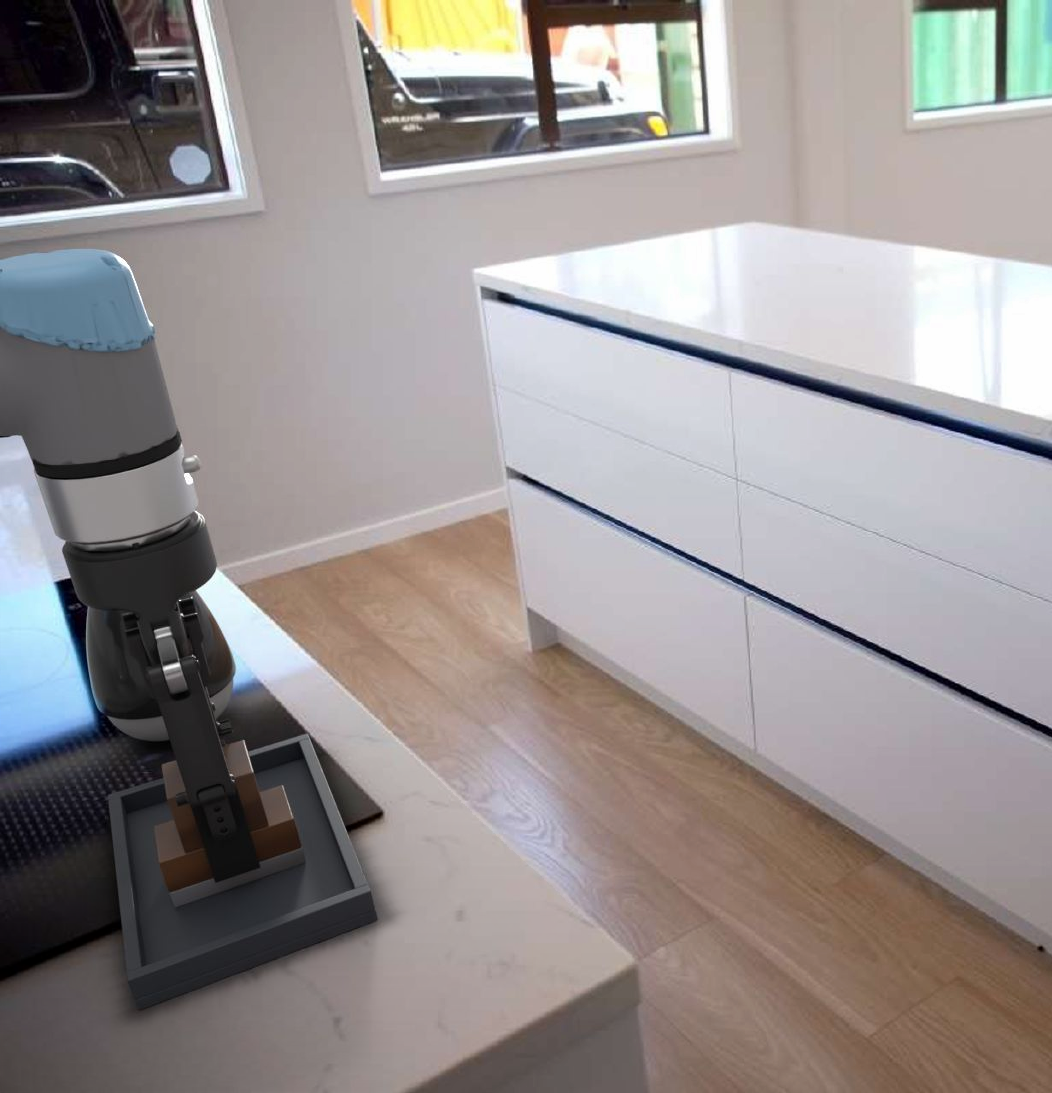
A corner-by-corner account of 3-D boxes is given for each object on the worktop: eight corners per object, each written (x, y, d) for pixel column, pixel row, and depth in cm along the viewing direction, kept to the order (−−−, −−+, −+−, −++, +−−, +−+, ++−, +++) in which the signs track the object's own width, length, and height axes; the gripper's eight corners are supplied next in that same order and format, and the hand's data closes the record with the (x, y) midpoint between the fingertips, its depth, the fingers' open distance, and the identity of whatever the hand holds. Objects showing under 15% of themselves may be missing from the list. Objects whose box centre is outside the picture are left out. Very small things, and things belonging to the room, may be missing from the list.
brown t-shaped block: (306, 862, 82) (278, 763, 79) (174, 908, 79) (139, 807, 75) (295, 827, 86) (268, 731, 82) (168, 870, 82) (135, 771, 79)
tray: (378, 919, 78) (370, 890, 77) (138, 1010, 72) (127, 980, 71) (314, 758, 95) (307, 732, 94) (116, 820, 89) (107, 794, 88)
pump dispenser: (165, 686, 106) (113, 524, 100) (272, 694, 104) (227, 528, 98) (77, 754, 97) (15, 579, 91) (193, 763, 95) (138, 585, 89)
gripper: (219, 561, 67) (315, 904, 76) (188, 467, 81) (272, 767, 90) (60, 598, 63) (182, 952, 73) (57, 494, 77) (159, 802, 87)
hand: (232, 849), depth 82 cm, fingers closed on brown t-shaped block, 4 cm apart
